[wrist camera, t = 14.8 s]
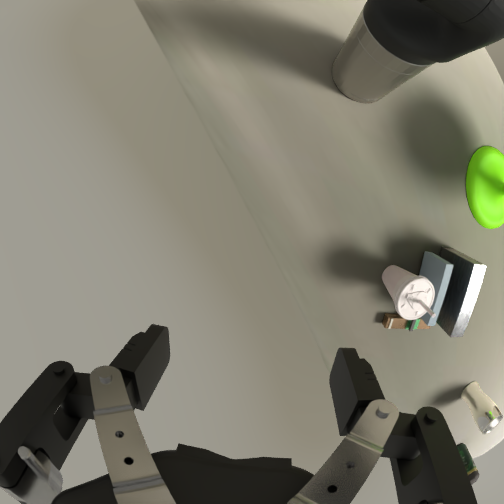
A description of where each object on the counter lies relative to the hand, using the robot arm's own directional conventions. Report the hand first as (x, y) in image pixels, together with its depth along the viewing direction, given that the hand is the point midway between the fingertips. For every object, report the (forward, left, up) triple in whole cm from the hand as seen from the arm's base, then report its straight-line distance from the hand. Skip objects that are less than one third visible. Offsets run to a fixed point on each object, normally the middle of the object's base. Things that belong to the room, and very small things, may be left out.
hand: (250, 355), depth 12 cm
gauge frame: (+6, +28, -30) cm, 41 cm away
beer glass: (+35, +59, -30) cm, 75 cm away
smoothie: (+5, +21, -30) cm, 37 cm away
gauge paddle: (+7, +27, -29) cm, 40 cm away
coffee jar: (+70, +79, -30) cm, 110 cm away
